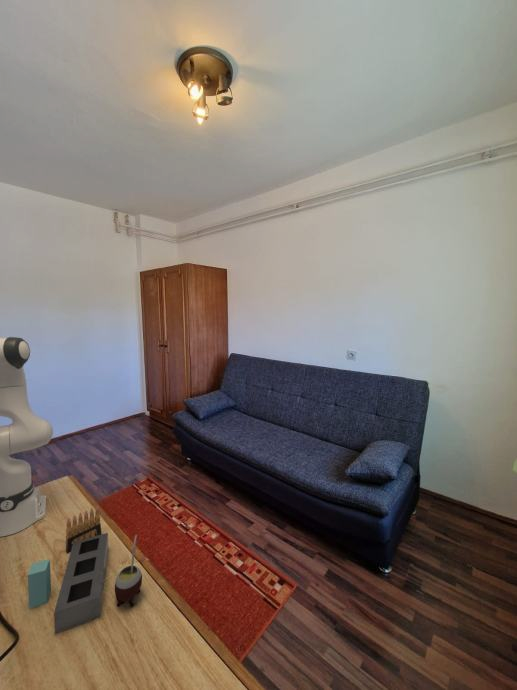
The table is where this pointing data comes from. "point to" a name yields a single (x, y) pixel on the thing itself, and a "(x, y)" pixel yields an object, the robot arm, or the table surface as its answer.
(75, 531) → the ammunition clip
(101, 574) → the block with square holes
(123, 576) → the mate gourd
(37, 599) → the square peg
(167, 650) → the table surface
